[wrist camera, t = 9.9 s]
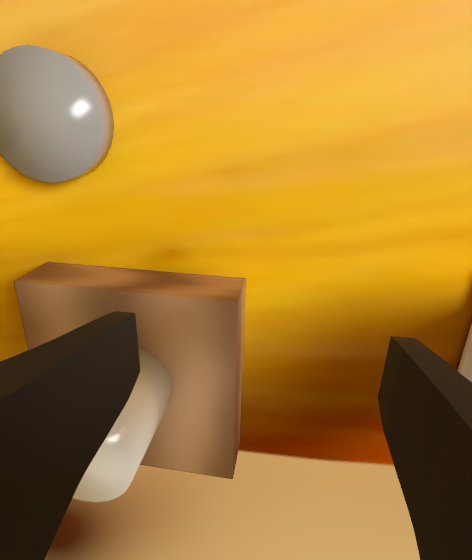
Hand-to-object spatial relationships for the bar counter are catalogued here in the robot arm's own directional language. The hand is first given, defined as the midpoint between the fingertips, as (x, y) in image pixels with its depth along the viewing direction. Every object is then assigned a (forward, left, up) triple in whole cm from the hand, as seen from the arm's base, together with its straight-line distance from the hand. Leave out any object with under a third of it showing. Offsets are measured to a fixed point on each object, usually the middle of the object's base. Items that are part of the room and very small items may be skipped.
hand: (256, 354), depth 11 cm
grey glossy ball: (+12, -6, -11) cm, 17 cm away
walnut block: (+8, +8, -10) cm, 15 cm away
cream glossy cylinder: (+8, +8, -7) cm, 13 cm away
